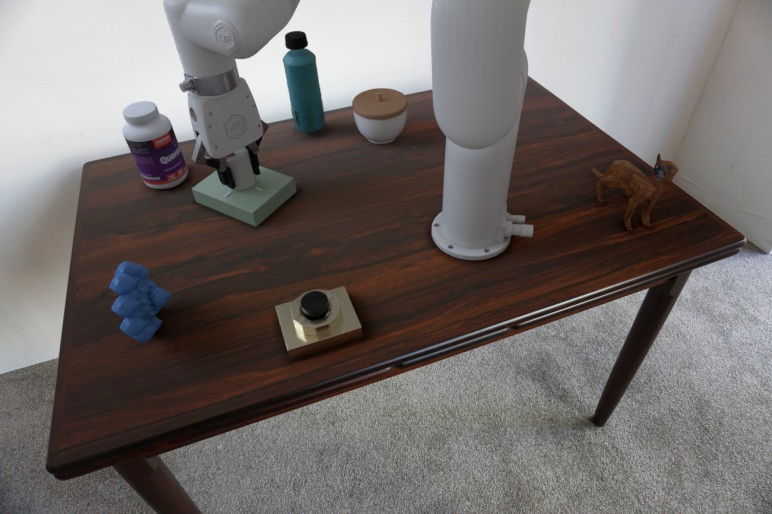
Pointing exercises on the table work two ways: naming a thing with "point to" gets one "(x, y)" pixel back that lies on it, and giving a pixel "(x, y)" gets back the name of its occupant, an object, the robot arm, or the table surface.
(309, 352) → the button box
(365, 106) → the trinket box
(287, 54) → the beverage bottle
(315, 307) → the button
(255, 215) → the dial panel
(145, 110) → the pill bottle
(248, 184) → the dial
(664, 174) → the cat figurine
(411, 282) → the table surface
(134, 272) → the blue lumpy lobed piece
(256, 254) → the table surface
